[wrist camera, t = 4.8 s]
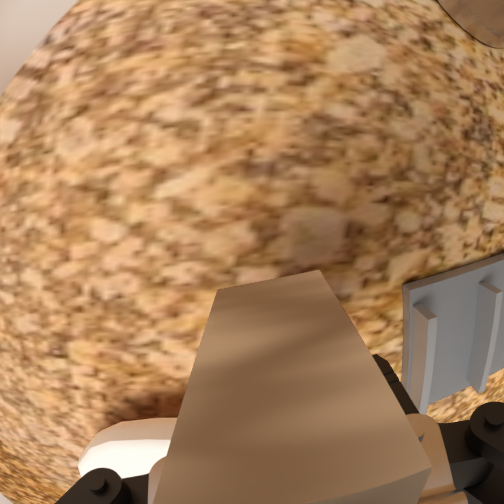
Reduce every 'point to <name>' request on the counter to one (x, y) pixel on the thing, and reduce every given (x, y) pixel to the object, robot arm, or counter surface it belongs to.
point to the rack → (453, 331)
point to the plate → (128, 447)
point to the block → (289, 408)
